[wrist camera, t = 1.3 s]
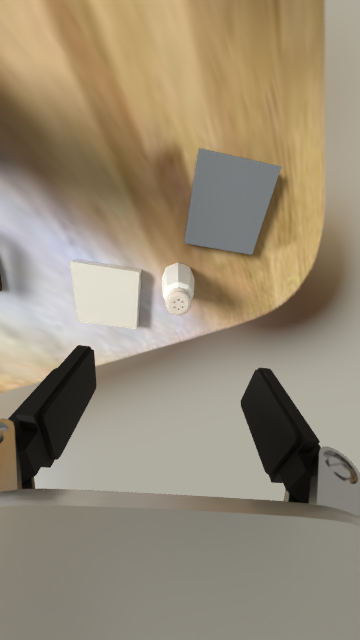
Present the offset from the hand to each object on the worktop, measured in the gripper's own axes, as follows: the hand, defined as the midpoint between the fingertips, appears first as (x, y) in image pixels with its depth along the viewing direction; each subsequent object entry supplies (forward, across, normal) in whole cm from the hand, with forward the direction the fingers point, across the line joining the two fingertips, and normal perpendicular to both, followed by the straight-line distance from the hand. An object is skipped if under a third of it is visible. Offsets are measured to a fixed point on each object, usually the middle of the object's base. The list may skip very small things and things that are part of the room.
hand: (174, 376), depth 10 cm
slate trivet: (+21, -5, -11) cm, 24 cm away
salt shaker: (+21, 0, -1) cm, 21 cm away
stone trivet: (+21, +11, +4) cm, 24 cm away
